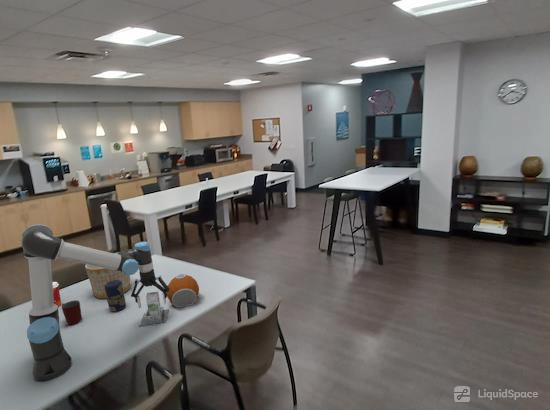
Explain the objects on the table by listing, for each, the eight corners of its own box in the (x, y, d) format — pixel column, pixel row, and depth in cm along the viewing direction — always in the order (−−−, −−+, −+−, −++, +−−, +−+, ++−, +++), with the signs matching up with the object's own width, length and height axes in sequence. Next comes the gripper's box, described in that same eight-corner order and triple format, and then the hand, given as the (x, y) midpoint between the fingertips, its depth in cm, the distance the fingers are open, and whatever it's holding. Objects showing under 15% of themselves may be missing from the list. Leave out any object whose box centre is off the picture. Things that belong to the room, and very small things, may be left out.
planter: (103, 304, 217) (97, 272, 212) (84, 295, 233) (77, 264, 228) (141, 287, 237) (135, 257, 232) (121, 279, 252) (115, 251, 248)
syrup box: (162, 313, 199) (158, 290, 196) (160, 318, 193) (156, 295, 190) (152, 314, 198) (147, 291, 195) (149, 320, 193) (145, 296, 189)
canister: (120, 312, 205) (114, 284, 201) (105, 312, 207) (100, 284, 203) (129, 304, 214) (124, 277, 210) (116, 304, 216) (110, 277, 212)
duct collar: (166, 322, 190) (164, 316, 189) (139, 327, 188) (138, 320, 187) (169, 310, 203) (168, 303, 203) (144, 313, 201) (143, 307, 201)
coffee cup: (45, 308, 218) (40, 286, 215) (58, 302, 225) (53, 280, 222) (53, 310, 214) (47, 288, 211) (66, 304, 221) (61, 282, 218)
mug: (58, 323, 198) (54, 306, 196) (72, 315, 206) (68, 298, 204) (72, 327, 194) (68, 309, 191) (86, 318, 201) (82, 301, 199)
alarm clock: (198, 292, 223) (195, 267, 219) (202, 304, 206) (198, 277, 202) (168, 299, 217) (163, 273, 213) (168, 312, 201) (164, 284, 197)
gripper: (170, 264, 194) (176, 298, 199) (124, 270, 191) (131, 305, 196) (169, 269, 187) (174, 305, 192) (120, 276, 184) (127, 312, 188)
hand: (152, 305), depth 194 cm, fingers open, 13 cm apart
